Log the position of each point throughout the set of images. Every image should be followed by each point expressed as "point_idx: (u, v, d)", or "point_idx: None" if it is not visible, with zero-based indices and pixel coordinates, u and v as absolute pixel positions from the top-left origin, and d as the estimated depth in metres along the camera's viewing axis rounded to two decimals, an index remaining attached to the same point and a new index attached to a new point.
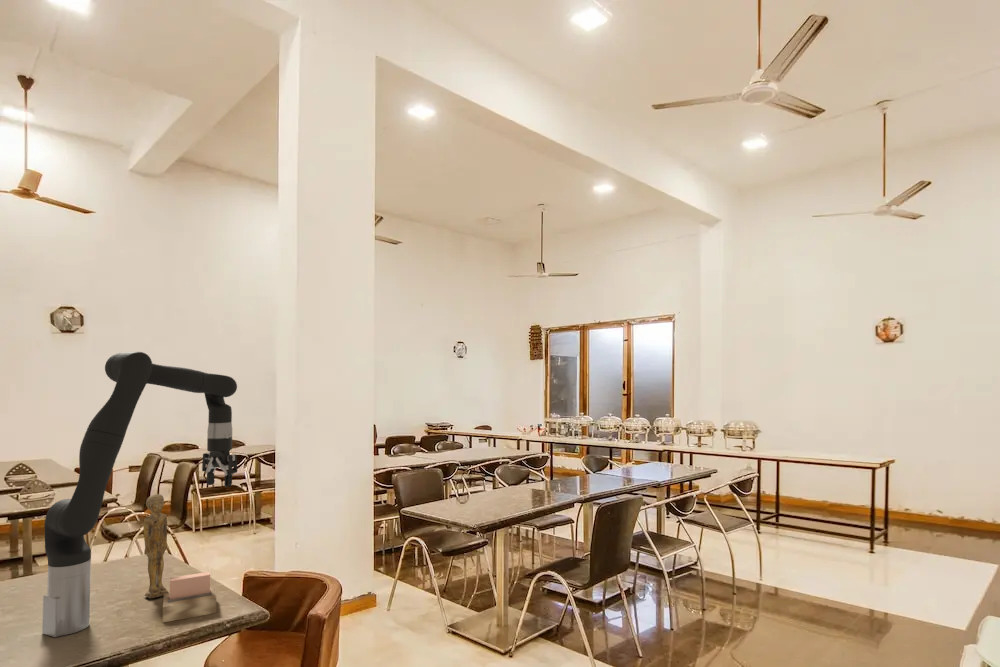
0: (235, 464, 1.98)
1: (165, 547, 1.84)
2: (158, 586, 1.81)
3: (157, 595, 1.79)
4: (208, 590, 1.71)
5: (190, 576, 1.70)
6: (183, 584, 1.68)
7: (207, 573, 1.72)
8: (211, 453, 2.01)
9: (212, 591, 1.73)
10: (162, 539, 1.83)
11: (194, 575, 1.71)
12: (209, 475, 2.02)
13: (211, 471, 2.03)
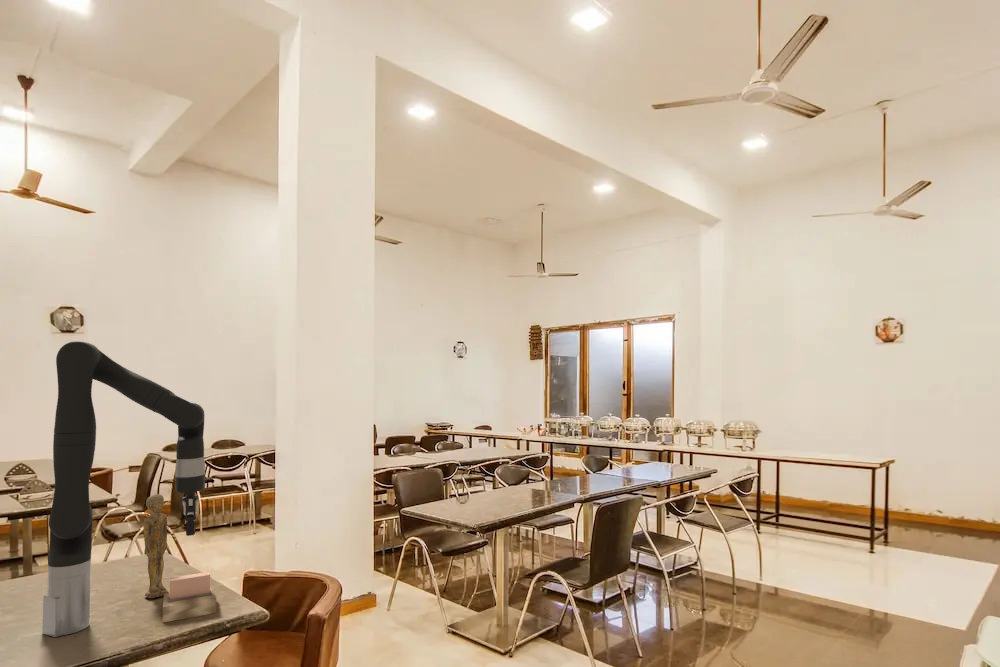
0: None
1: (165, 547, 1.84)
2: (158, 586, 1.81)
3: (157, 595, 1.79)
4: (208, 590, 1.71)
5: (190, 576, 1.70)
6: (183, 584, 1.68)
7: (207, 573, 1.72)
8: (194, 495, 1.70)
9: (212, 591, 1.73)
10: (162, 539, 1.83)
11: (194, 575, 1.71)
12: None
13: None
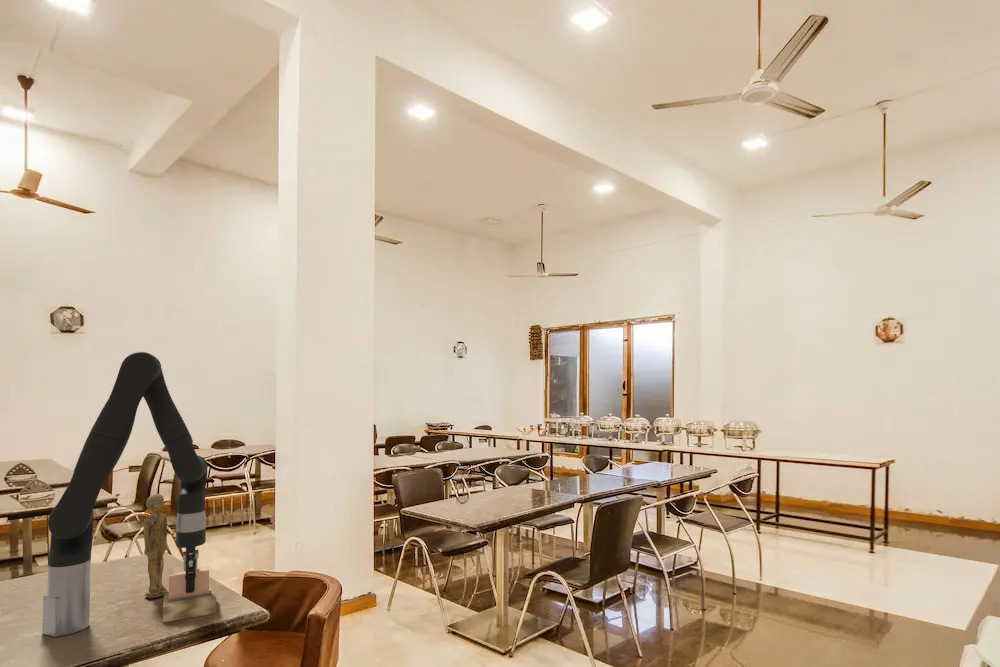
0: None
1: (165, 547, 1.84)
2: (158, 586, 1.81)
3: (157, 595, 1.79)
4: (208, 586, 1.71)
5: None
6: (182, 579, 1.68)
7: (206, 568, 1.72)
8: (195, 550, 1.68)
9: (212, 591, 1.73)
10: (162, 539, 1.83)
11: None
12: None
13: None
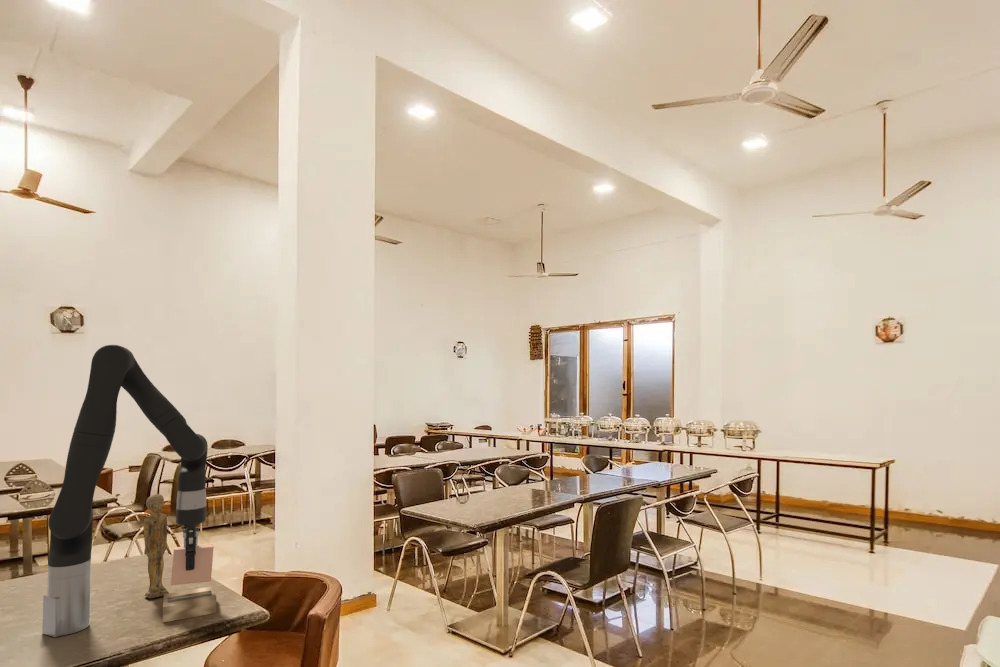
0: None
1: (165, 547, 1.84)
2: (158, 586, 1.81)
3: (157, 595, 1.79)
4: (211, 563, 1.71)
5: None
6: None
7: (210, 545, 1.73)
8: (195, 527, 1.69)
9: (212, 591, 1.73)
10: (162, 539, 1.83)
11: (198, 546, 1.72)
12: None
13: None
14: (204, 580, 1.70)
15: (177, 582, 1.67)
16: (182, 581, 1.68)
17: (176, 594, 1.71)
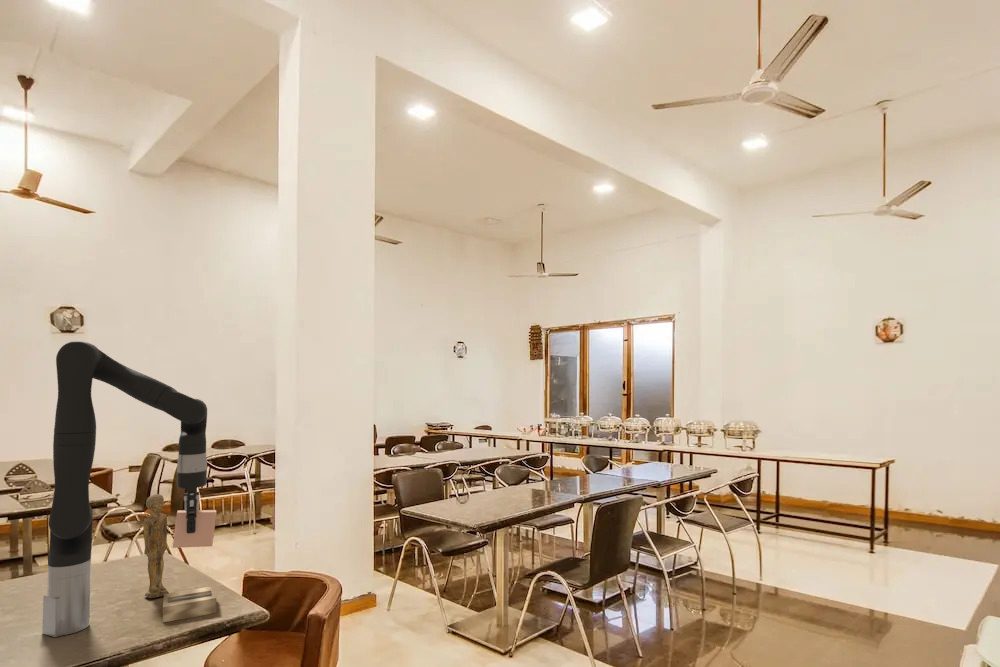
0: None
1: (165, 547, 1.84)
2: (158, 586, 1.81)
3: (157, 595, 1.79)
4: (213, 528, 1.72)
5: (197, 511, 1.72)
6: None
7: (213, 511, 1.74)
8: None
9: (212, 591, 1.73)
10: (162, 539, 1.83)
11: (201, 511, 1.73)
12: None
13: None
14: (206, 544, 1.71)
15: (179, 545, 1.68)
16: (184, 544, 1.69)
17: (176, 594, 1.71)
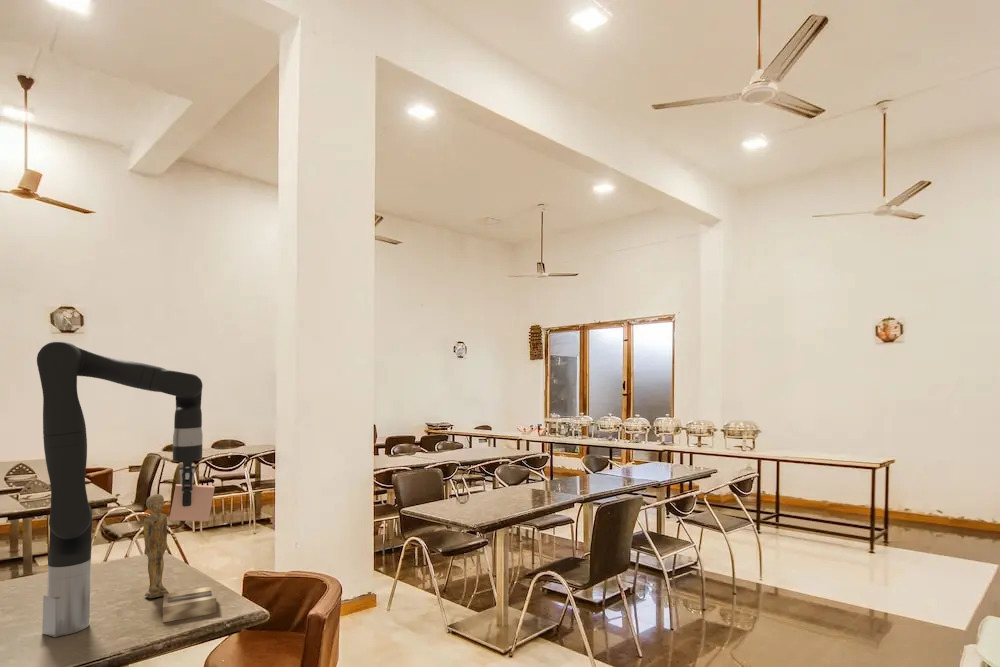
0: None
1: (165, 547, 1.84)
2: (158, 586, 1.81)
3: (157, 595, 1.79)
4: (210, 503, 1.74)
5: (195, 485, 1.73)
6: None
7: (212, 486, 1.76)
8: (191, 464, 1.71)
9: (212, 591, 1.73)
10: (162, 539, 1.83)
11: (199, 485, 1.74)
12: None
13: None
14: (202, 519, 1.73)
15: (176, 518, 1.70)
16: (181, 517, 1.70)
17: (176, 594, 1.71)
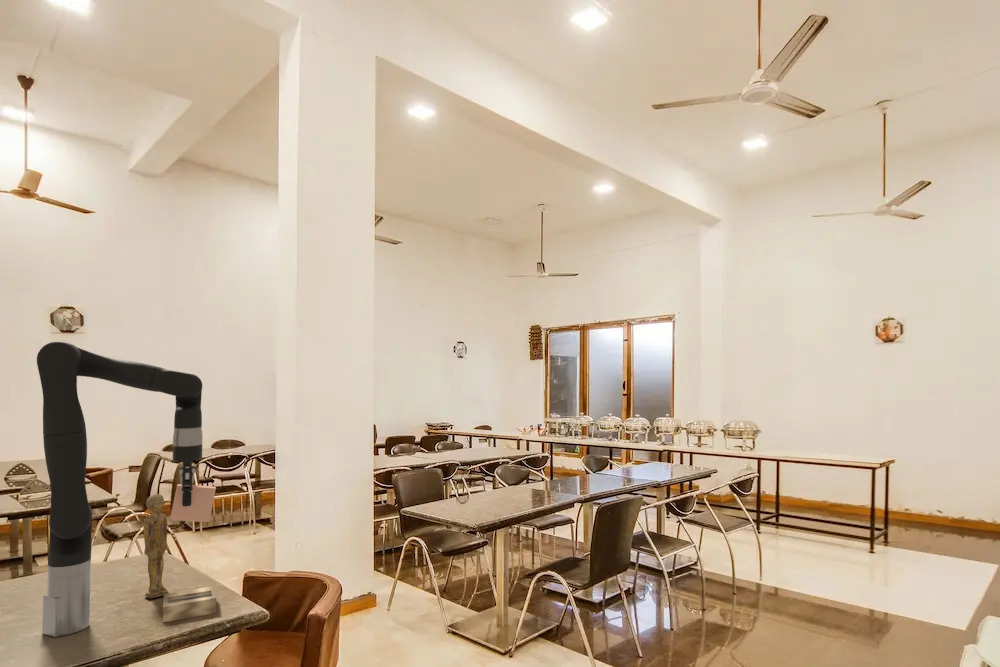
0: None
1: (165, 547, 1.84)
2: (158, 586, 1.81)
3: (157, 595, 1.79)
4: (211, 504, 1.74)
5: (197, 486, 1.74)
6: None
7: (213, 487, 1.76)
8: (191, 464, 1.71)
9: (212, 591, 1.73)
10: (162, 539, 1.83)
11: (201, 486, 1.74)
12: None
13: None
14: (203, 520, 1.73)
15: (176, 518, 1.70)
16: (181, 517, 1.70)
17: (176, 594, 1.71)
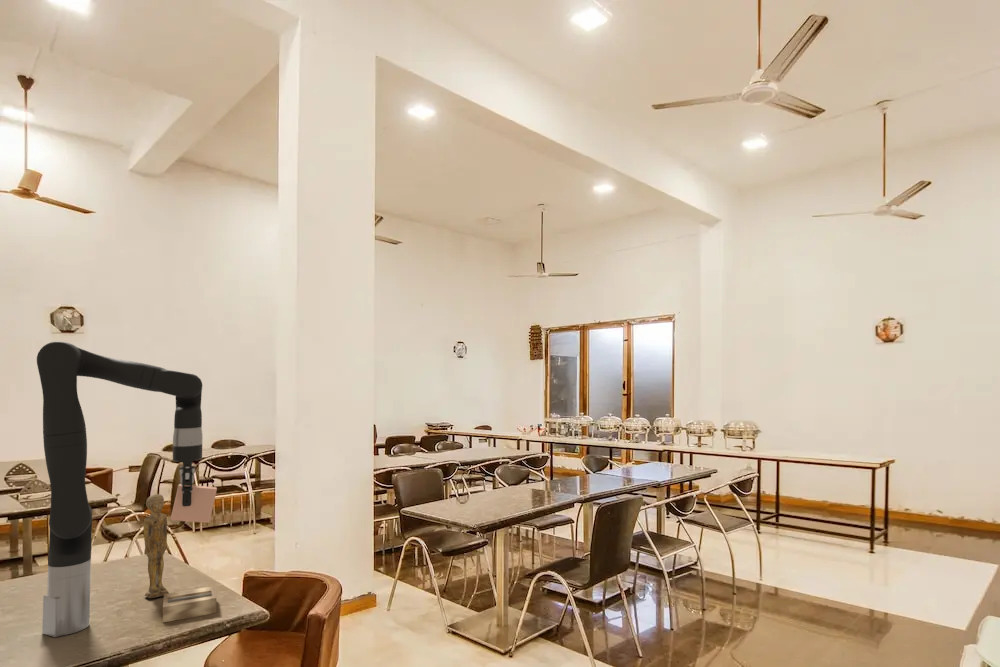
0: None
1: (165, 547, 1.84)
2: (158, 586, 1.81)
3: (157, 595, 1.79)
4: (212, 504, 1.74)
5: (198, 486, 1.74)
6: None
7: (214, 488, 1.76)
8: (191, 464, 1.71)
9: (212, 591, 1.73)
10: (162, 539, 1.83)
11: (202, 487, 1.74)
12: None
13: None
14: (203, 520, 1.73)
15: (177, 518, 1.70)
16: (182, 517, 1.70)
17: (176, 594, 1.71)
